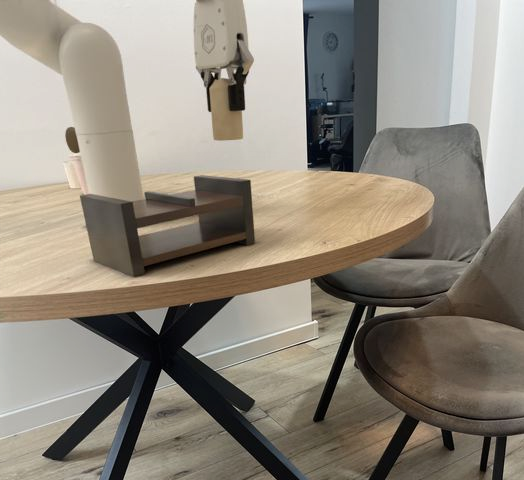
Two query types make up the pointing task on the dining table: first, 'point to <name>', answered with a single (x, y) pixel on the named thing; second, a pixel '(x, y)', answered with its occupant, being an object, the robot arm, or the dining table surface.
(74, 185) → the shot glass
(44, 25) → the robot arm
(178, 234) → the rack
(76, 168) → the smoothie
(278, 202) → the dining table surface
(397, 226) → the dining table surface
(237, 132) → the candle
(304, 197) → the dining table surface
